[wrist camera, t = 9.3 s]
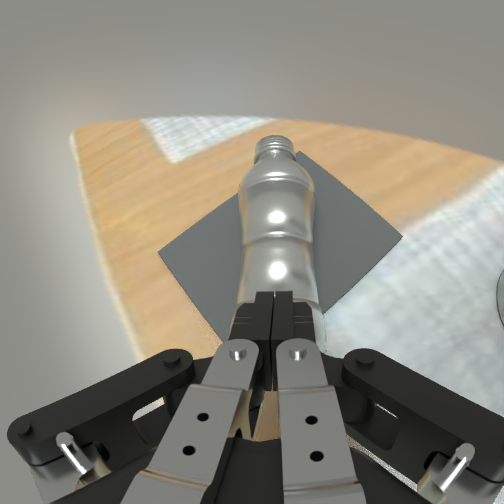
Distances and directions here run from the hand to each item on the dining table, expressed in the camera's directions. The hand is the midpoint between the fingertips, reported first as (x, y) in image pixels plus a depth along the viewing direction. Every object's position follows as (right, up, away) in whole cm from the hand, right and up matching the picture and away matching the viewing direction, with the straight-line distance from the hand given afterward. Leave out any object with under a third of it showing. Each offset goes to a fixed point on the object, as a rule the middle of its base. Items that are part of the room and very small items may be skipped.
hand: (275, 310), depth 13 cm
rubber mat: (+1, +3, +15) cm, 15 cm away
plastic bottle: (+1, -6, +6) cm, 9 cm away
